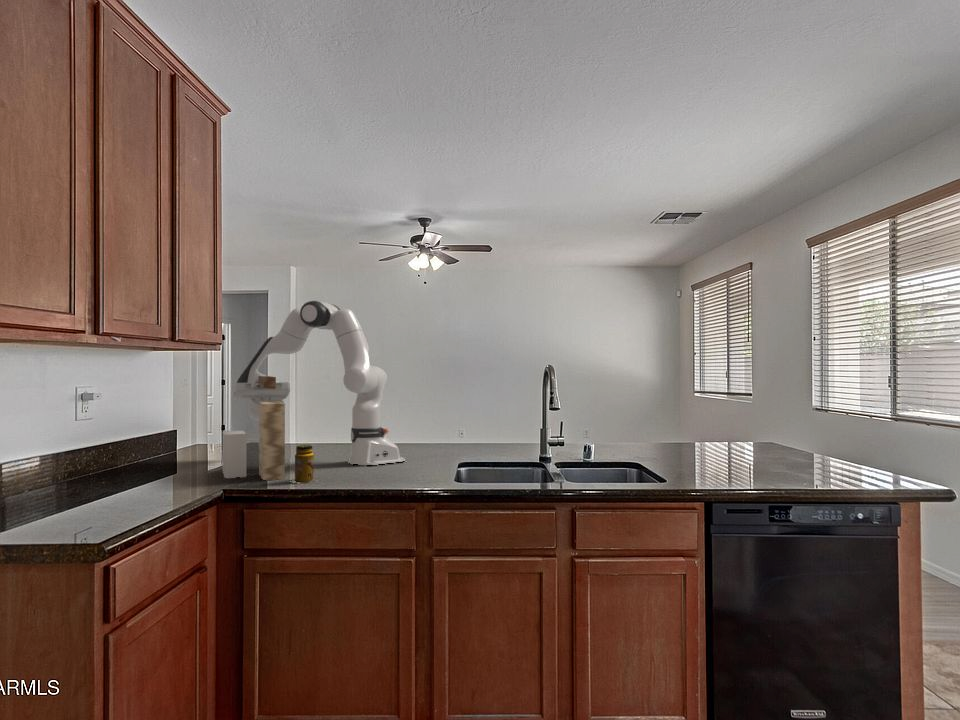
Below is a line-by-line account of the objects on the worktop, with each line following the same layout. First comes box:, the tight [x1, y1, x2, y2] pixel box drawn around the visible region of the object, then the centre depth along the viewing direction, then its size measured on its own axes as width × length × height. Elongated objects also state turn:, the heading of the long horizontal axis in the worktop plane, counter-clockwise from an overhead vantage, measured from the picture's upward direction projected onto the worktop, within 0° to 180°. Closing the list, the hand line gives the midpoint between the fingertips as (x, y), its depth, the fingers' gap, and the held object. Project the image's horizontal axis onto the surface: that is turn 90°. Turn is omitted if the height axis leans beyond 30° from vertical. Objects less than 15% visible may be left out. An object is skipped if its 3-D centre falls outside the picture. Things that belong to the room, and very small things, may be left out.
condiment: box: [286, 444, 318, 485], centre depth 202 cm, size 7×8×12 cm
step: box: [222, 429, 248, 479], centre depth 216 cm, size 7×15×15 cm, turn 26°
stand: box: [258, 402, 286, 481], centre depth 211 cm, size 7×13×26 cm, turn 26°
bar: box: [258, 375, 277, 388], centre depth 224 cm, size 4×20×4 cm, turn 26°
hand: (264, 380), depth 230 cm, fingers closed on bar, 4 cm apart
